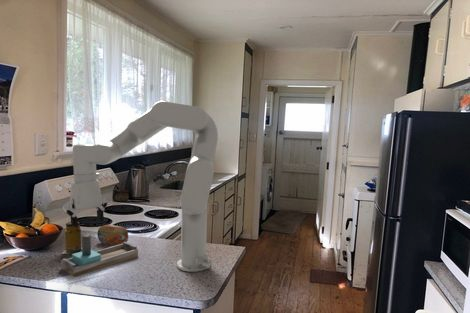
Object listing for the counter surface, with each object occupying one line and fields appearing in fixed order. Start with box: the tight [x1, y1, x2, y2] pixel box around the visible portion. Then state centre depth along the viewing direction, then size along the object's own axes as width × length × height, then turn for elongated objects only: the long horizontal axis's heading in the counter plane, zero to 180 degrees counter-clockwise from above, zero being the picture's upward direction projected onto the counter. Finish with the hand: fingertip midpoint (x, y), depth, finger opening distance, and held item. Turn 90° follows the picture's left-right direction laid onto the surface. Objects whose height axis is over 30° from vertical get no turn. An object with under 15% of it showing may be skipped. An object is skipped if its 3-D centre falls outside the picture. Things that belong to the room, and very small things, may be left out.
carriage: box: [71, 234, 101, 266], centre depth 131 cm, size 8×7×10 cm
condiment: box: [61, 221, 82, 255], centre depth 147 cm, size 7×8×12 cm
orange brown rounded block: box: [97, 224, 129, 246], centre depth 156 cm, size 15×3×8 cm, turn 70°
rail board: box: [60, 241, 139, 278], centre depth 136 cm, size 10×26×4 cm, turn 140°
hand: (87, 223), depth 131 cm, fingers open, 9 cm apart
